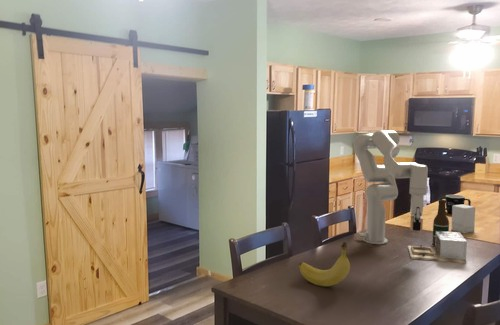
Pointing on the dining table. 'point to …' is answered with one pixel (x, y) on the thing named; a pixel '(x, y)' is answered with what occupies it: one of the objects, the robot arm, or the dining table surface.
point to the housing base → (429, 254)
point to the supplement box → (463, 218)
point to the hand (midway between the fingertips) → (416, 228)
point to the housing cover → (451, 245)
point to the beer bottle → (440, 220)
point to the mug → (454, 201)
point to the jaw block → (413, 221)
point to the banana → (327, 271)
